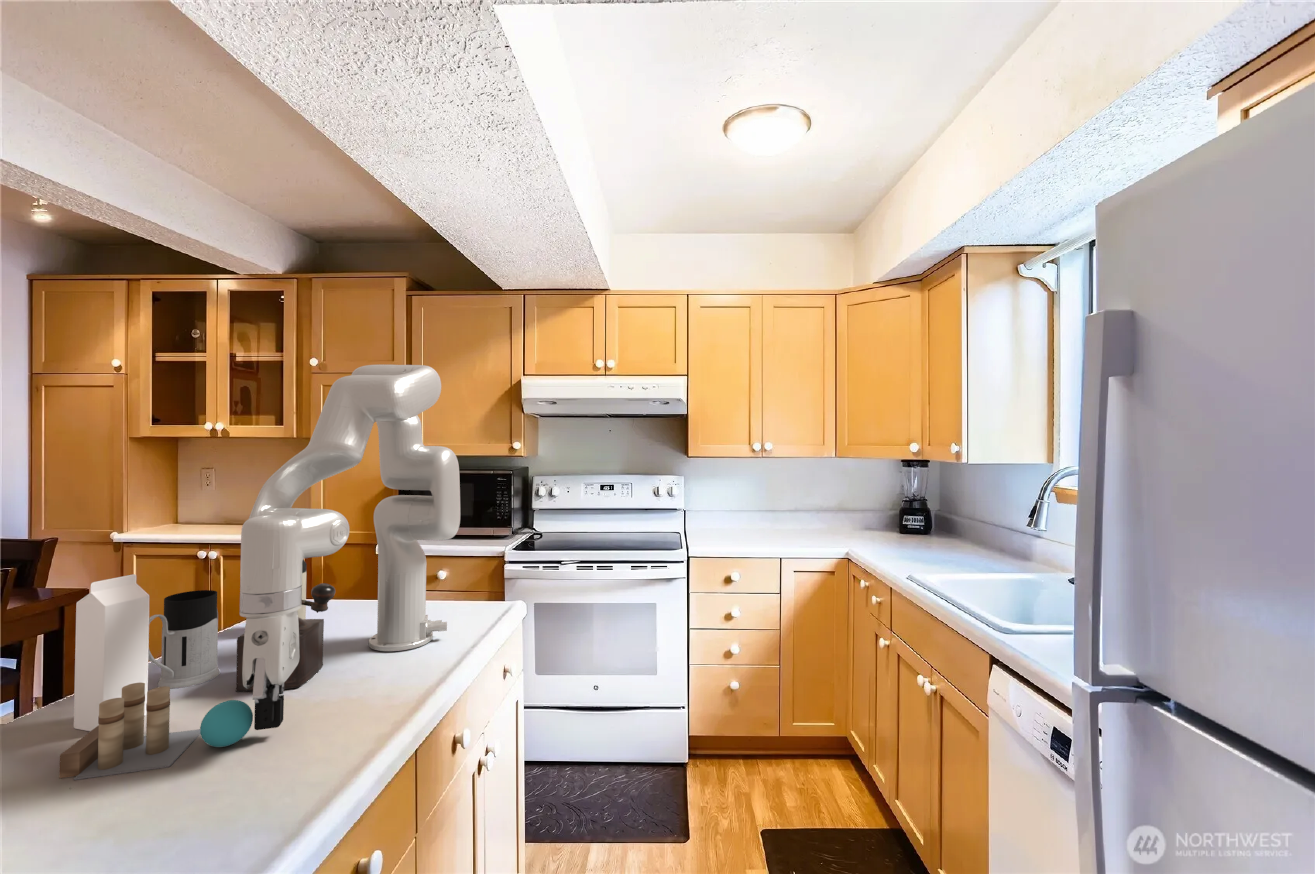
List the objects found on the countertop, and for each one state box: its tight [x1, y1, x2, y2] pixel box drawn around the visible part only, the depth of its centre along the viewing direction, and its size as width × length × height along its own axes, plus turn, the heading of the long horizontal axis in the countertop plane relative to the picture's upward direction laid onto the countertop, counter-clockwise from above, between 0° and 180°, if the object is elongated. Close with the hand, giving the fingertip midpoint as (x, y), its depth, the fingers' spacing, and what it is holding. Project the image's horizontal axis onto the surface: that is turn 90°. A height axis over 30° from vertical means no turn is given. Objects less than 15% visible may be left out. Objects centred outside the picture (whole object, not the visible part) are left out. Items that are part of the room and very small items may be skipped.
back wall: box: [58, 725, 99, 779], centre depth 77 cm, size 2×9×3 cm, turn 18°
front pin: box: [145, 686, 171, 755], centre depth 78 cm, size 2×2×8 cm
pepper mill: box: [235, 582, 336, 693], centre depth 103 cm, size 16×11×18 cm
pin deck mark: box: [73, 728, 201, 781], centre depth 78 cm, size 10×10×1 cm
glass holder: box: [148, 589, 221, 690], centre depth 100 cm, size 9×14×15 cm, turn 2°
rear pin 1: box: [98, 698, 124, 770], centre depth 75 cm, size 2×2×8 cm
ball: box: [199, 699, 254, 748], centre depth 80 cm, size 6×6×6 cm
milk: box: [73, 573, 150, 732], centre depth 87 cm, size 6×6×22 cm
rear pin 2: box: [122, 683, 145, 750], centre depth 80 cm, size 2×2×8 cm
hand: (268, 725), depth 82 cm, fingers closed
